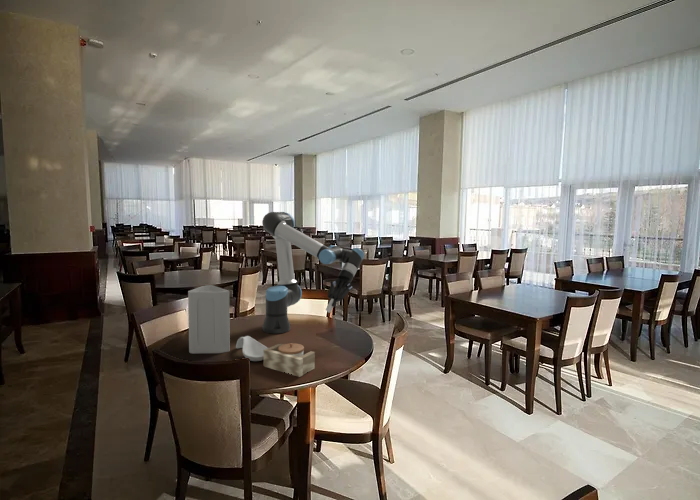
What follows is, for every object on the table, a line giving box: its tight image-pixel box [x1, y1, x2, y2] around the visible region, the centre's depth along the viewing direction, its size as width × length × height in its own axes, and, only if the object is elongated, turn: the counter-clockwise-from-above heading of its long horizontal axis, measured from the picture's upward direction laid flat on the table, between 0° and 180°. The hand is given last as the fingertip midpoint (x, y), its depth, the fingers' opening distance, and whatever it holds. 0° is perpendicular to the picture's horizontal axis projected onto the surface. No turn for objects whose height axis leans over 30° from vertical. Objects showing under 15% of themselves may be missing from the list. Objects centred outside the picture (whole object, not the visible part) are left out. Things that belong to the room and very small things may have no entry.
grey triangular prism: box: [187, 284, 231, 354], centre depth 177 cm, size 19×15×28 cm
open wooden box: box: [263, 343, 316, 378], centre depth 159 cm, size 19×10×7 cm, turn 59°
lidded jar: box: [278, 342, 305, 357], centre depth 161 cm, size 11×11×9 cm
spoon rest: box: [235, 335, 268, 362], centre depth 172 cm, size 24×12×7 cm, turn 40°
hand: (327, 311), depth 189 cm, fingers closed
